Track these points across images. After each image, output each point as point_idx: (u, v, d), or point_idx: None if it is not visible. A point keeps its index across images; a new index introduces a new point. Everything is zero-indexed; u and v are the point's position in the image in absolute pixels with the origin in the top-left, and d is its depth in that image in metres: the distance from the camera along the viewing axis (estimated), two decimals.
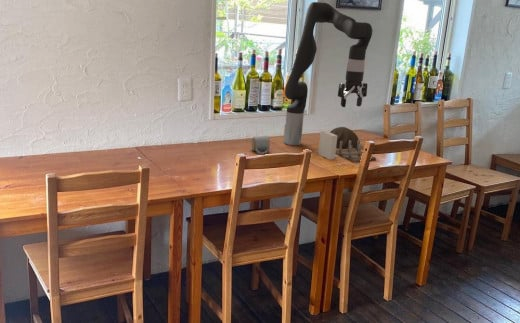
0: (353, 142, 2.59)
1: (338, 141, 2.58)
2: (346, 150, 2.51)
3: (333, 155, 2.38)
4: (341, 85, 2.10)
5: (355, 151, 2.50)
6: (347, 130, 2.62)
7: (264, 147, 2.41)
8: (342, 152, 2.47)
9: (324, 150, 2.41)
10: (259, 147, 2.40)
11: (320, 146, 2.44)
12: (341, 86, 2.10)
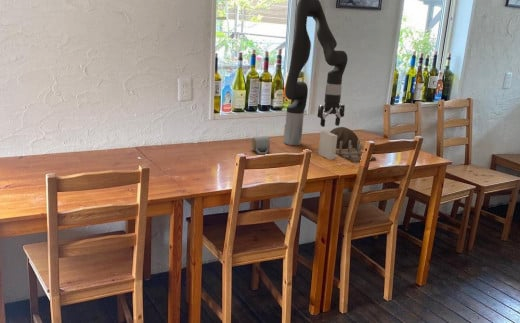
0: (353, 142, 2.59)
1: (338, 141, 2.58)
2: (346, 150, 2.51)
3: (333, 155, 2.38)
4: (320, 107, 2.31)
5: (355, 151, 2.50)
6: (347, 130, 2.62)
7: (264, 147, 2.40)
8: (342, 152, 2.47)
9: (324, 150, 2.41)
10: (259, 147, 2.40)
11: (320, 146, 2.44)
12: (320, 108, 2.31)
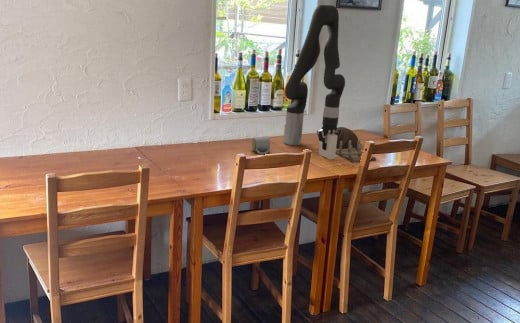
0: (353, 142, 2.59)
1: (338, 141, 2.58)
2: (346, 150, 2.51)
3: (333, 155, 2.38)
4: (318, 133, 2.35)
5: (355, 151, 2.50)
6: (347, 130, 2.62)
7: (264, 148, 2.40)
8: (342, 152, 2.47)
9: (324, 150, 2.41)
10: (259, 148, 2.40)
11: (320, 146, 2.44)
12: (319, 134, 2.36)
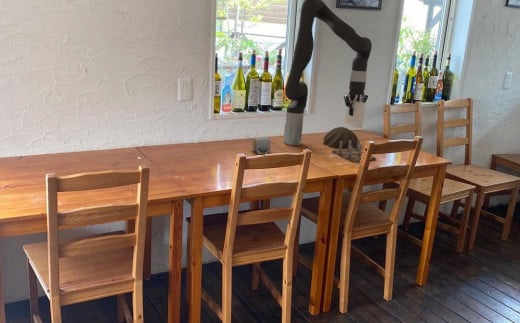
0: (353, 142, 2.59)
1: (338, 141, 2.58)
2: (346, 150, 2.51)
3: (361, 123, 2.34)
4: (345, 97, 2.32)
5: (355, 151, 2.50)
6: (346, 130, 2.62)
7: (265, 148, 2.39)
8: (342, 152, 2.47)
9: (351, 119, 2.37)
10: (260, 148, 2.39)
11: (347, 115, 2.40)
12: (346, 98, 2.32)
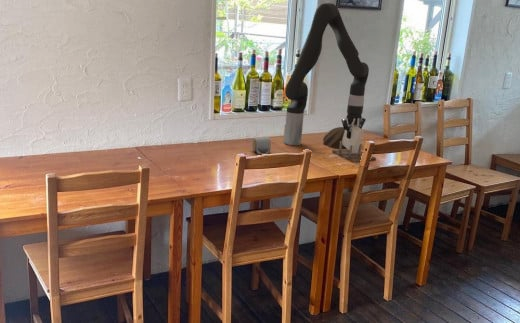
0: None
1: (338, 141, 2.58)
2: (346, 150, 2.51)
3: (357, 149, 2.39)
4: (343, 121, 2.35)
5: None
6: None
7: (265, 148, 2.39)
8: (342, 152, 2.47)
9: (348, 142, 2.41)
10: (260, 148, 2.39)
11: (344, 137, 2.44)
12: (344, 122, 2.36)
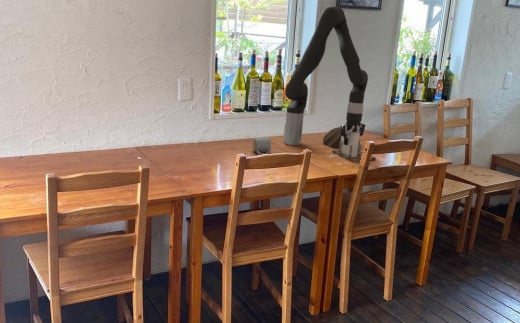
0: None
1: (338, 141, 2.58)
2: None
3: (355, 152, 2.40)
4: (342, 127, 2.36)
5: None
6: None
7: (265, 148, 2.39)
8: None
9: (346, 148, 2.43)
10: (260, 148, 2.38)
11: (342, 144, 2.46)
12: (342, 128, 2.36)
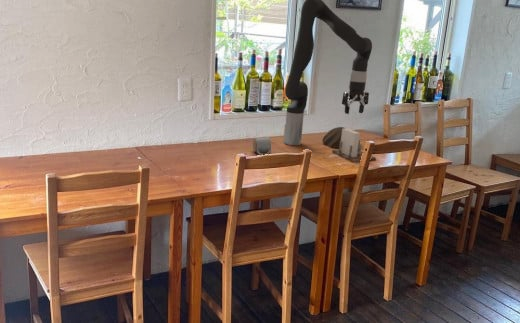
0: None
1: (338, 141, 2.57)
2: None
3: (355, 152, 2.40)
4: (345, 94, 2.32)
5: None
6: None
7: (265, 149, 2.38)
8: None
9: (346, 148, 2.43)
10: (260, 149, 2.38)
11: (342, 144, 2.46)
12: (345, 95, 2.32)
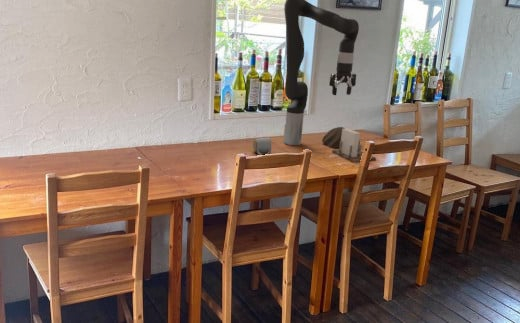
0: None
1: (338, 141, 2.57)
2: None
3: (355, 152, 2.40)
4: (332, 75, 2.34)
5: None
6: None
7: (266, 149, 2.38)
8: None
9: (346, 148, 2.43)
10: (261, 149, 2.37)
11: (342, 144, 2.46)
12: (332, 76, 2.34)
